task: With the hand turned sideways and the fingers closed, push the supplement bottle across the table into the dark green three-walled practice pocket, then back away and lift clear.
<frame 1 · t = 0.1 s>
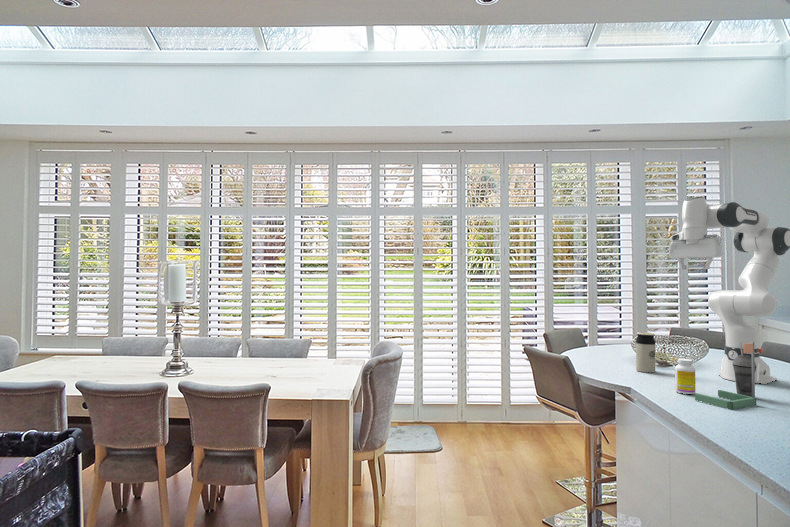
hand: (694, 269, 191), 48 cm above the counter, tool pointing down, fingers open, 8 cm apart
beverage cup: (744, 397, 174), on the counter
travel mug: (645, 371, 218), on the counter
supplement bottle: (685, 393, 178), on the counter
practice pocket: (723, 402, 165), on the counter
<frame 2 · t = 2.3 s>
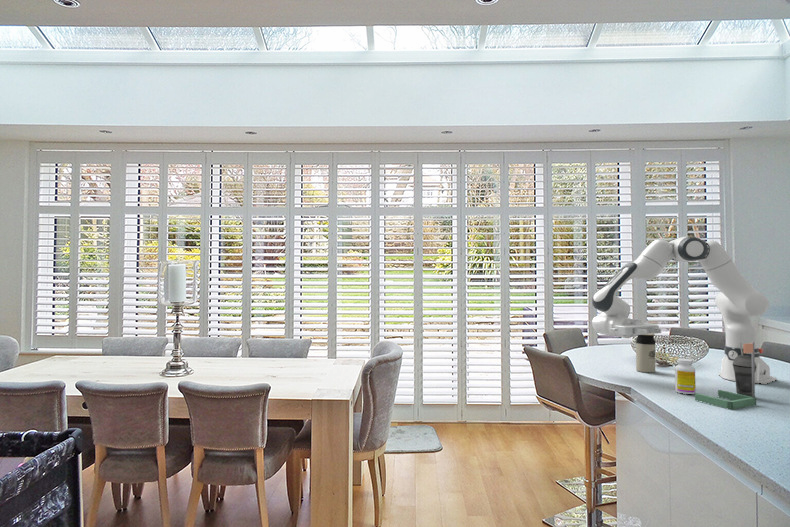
hand: (653, 331, 191), 22 cm above the counter, tool horizontal, fingers open, 6 cm apart
nothing on the counter moved.
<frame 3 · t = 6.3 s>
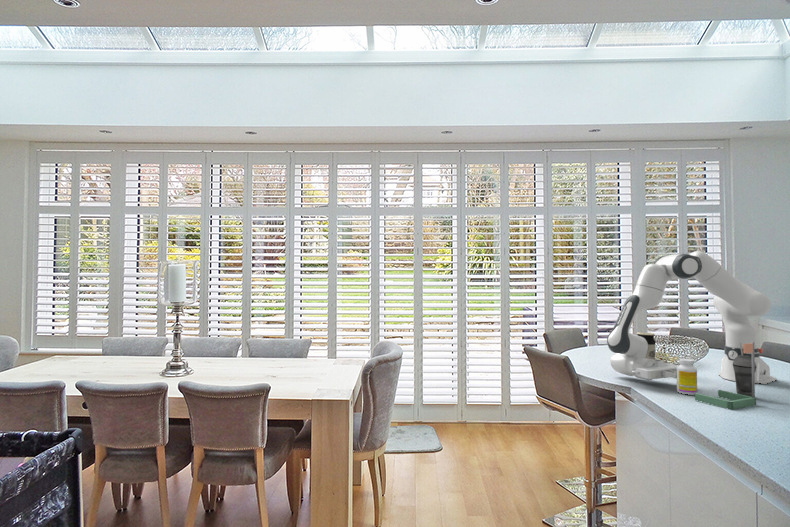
hand: (678, 375, 181), 6 cm above the counter, tool horizontal, fingers closed, pressing on supplement bottle
supplement bottle: (686, 393, 177), on the counter, touching gripper
everything else where it was.
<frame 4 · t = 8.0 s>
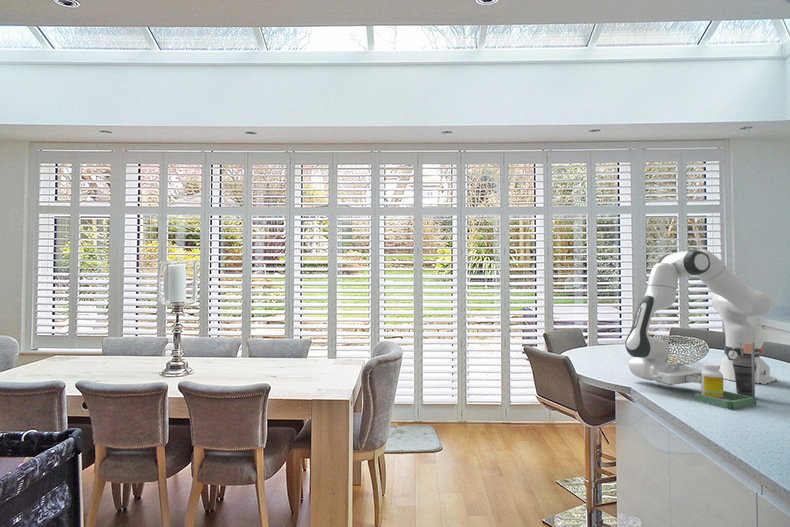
hand: (702, 380, 172), 6 cm above the counter, tool horizontal, fingers closed, pressing on supplement bottle
supplement bottle: (712, 400, 169), on the counter, touching gripper
everything else where it was.
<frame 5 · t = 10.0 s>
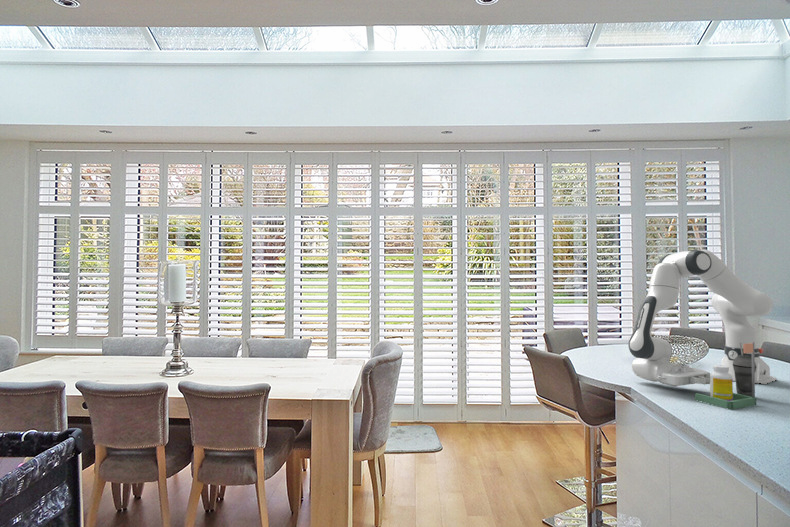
hand: (707, 381, 171), 6 cm above the counter, tool horizontal, fingers closed
supplement bottle: (721, 402, 166), on the counter
everything else where it was.
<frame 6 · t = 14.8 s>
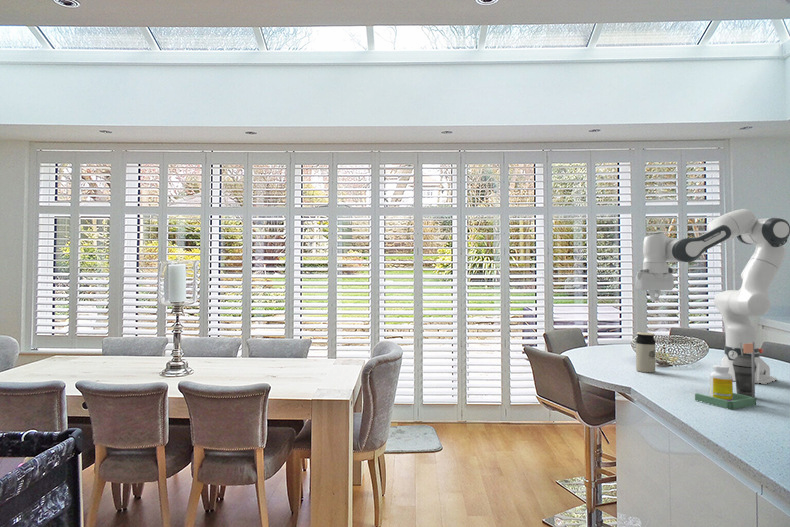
hand: (654, 300, 203), 34 cm above the counter, tool pointing down, fingers closed
nothing on the counter moved.
at the end: supplement bottle inside the target area on the practice pocket (0.6 cm from its centre), point 0.0 cm above the practice pocket's base; supplement bottle tilted 0°; supplement bottle moved 13.4 cm from its start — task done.
